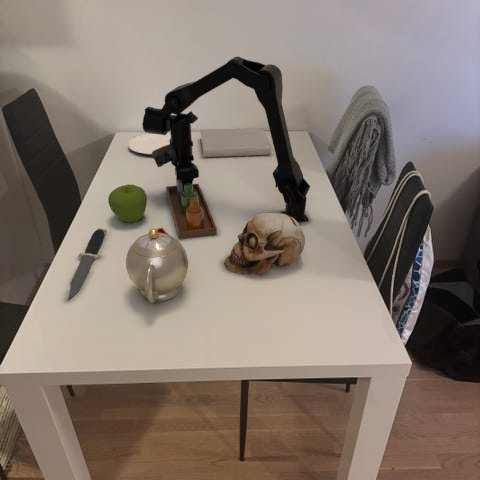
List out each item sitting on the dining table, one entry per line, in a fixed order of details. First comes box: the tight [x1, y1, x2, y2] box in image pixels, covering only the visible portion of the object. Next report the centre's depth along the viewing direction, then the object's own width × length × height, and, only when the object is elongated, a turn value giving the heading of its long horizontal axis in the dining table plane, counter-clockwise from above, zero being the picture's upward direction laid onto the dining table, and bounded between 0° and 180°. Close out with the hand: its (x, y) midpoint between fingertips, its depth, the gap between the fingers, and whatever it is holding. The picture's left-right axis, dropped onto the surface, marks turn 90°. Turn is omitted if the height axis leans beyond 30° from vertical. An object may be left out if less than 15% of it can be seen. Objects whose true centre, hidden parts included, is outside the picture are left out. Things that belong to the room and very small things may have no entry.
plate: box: [127, 132, 171, 156], centre depth 176 cm, size 21×21×2 cm
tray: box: [165, 183, 218, 240], centre depth 138 cm, size 28×10×2 cm, turn 14°
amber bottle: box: [186, 198, 205, 230], centre depth 128 cm, size 5×5×8 cm
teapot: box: [125, 226, 189, 304], centre depth 104 cm, size 18×14×16 cm
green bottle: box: [181, 183, 198, 216], centre depth 135 cm, size 5×5×8 cm
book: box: [200, 127, 272, 158], centre depth 176 cm, size 18×4×24 cm
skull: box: [223, 212, 306, 276], centre depth 117 cm, size 16×17×13 cm
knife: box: [67, 227, 108, 301], centre depth 118 cm, size 30×2×5 cm
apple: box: [107, 184, 148, 224], centre depth 132 cm, size 11×10×10 cm
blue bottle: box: [175, 177, 194, 198], centre depth 142 cm, size 5×5×8 cm
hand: (185, 189), depth 143 cm, fingers closed on blue bottle, 5 cm apart
